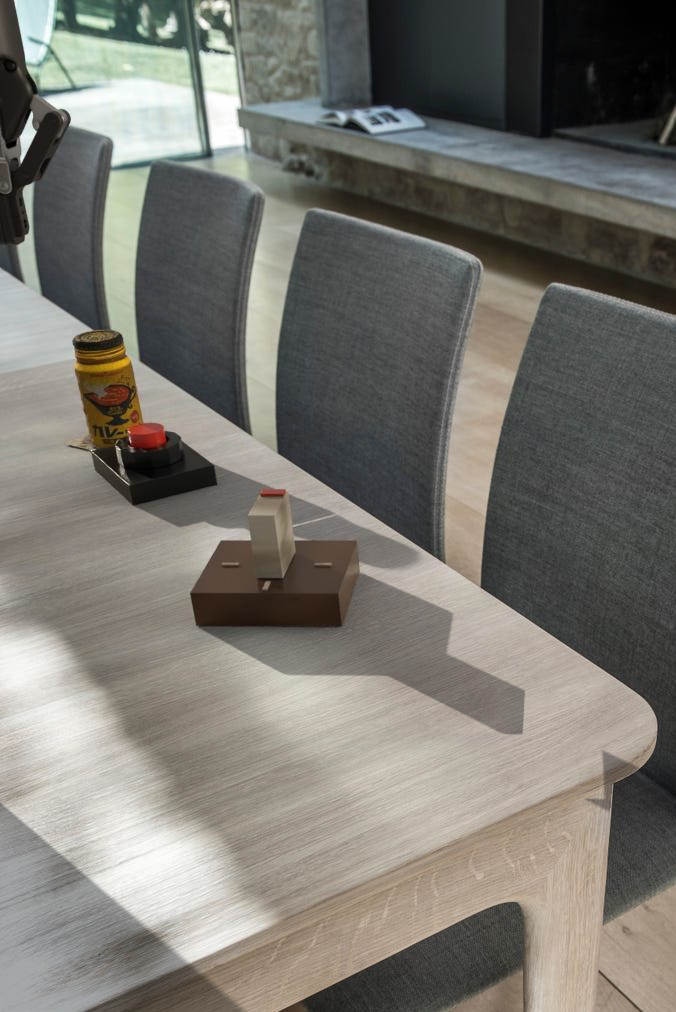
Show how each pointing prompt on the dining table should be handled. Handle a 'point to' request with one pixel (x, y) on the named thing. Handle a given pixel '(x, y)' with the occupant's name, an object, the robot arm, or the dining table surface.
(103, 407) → the condiment
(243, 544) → the brown flat block
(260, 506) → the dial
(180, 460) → the button box
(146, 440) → the button
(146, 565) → the dining table surface
